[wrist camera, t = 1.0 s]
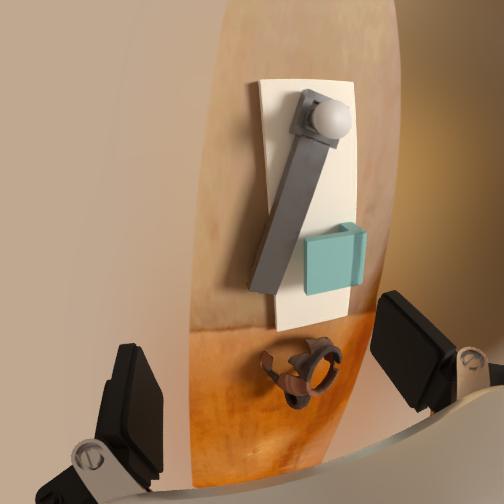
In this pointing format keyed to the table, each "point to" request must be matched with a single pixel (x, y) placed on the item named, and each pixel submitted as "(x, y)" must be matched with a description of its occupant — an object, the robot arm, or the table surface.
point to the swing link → (291, 198)
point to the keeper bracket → (334, 259)
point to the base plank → (327, 190)
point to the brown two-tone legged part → (305, 372)
